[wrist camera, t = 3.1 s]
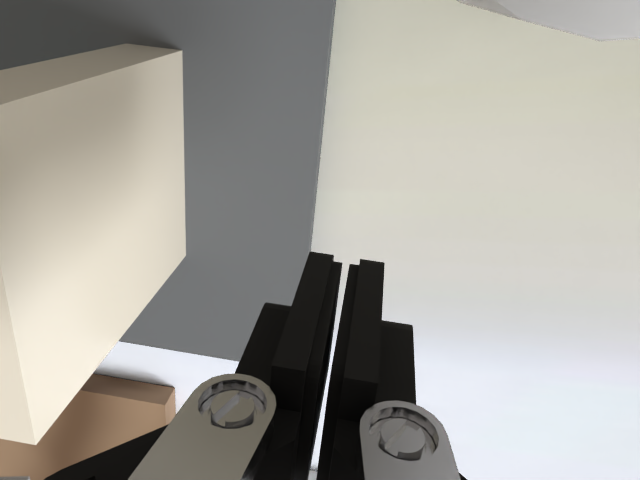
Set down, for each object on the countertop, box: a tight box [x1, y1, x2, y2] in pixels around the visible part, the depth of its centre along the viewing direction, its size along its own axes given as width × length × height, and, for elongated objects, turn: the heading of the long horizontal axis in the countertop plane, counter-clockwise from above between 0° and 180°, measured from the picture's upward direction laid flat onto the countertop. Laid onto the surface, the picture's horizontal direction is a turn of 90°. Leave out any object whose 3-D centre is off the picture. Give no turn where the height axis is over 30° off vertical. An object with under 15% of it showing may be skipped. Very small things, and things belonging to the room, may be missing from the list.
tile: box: [0, 43, 186, 445], centre depth 15 cm, size 2×8×10 cm, turn 175°
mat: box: [0, 0, 336, 361], centre depth 21 cm, size 20×18×1 cm
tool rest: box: [0, 374, 176, 480], centre depth 29 cm, size 10×12×1 cm
